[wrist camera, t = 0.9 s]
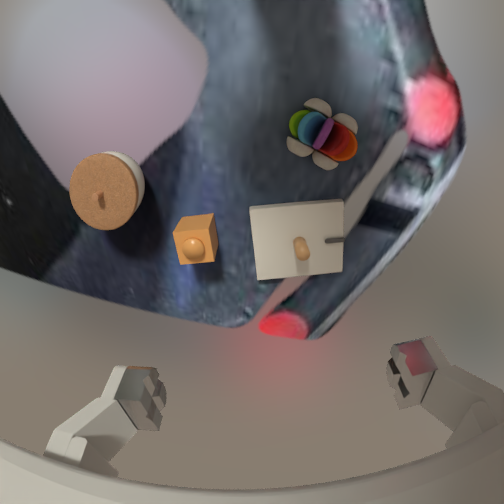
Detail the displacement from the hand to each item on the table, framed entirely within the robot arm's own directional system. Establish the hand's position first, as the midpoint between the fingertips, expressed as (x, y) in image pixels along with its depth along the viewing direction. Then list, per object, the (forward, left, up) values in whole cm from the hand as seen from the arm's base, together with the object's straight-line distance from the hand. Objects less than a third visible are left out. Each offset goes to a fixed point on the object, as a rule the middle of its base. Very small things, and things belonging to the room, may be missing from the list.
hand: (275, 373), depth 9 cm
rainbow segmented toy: (-4, +9, -37) cm, 38 cm away
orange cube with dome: (+9, -10, -37) cm, 39 cm away
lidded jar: (-1, -21, -37) cm, 42 cm away
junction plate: (+12, +5, -37) cm, 39 cm away
